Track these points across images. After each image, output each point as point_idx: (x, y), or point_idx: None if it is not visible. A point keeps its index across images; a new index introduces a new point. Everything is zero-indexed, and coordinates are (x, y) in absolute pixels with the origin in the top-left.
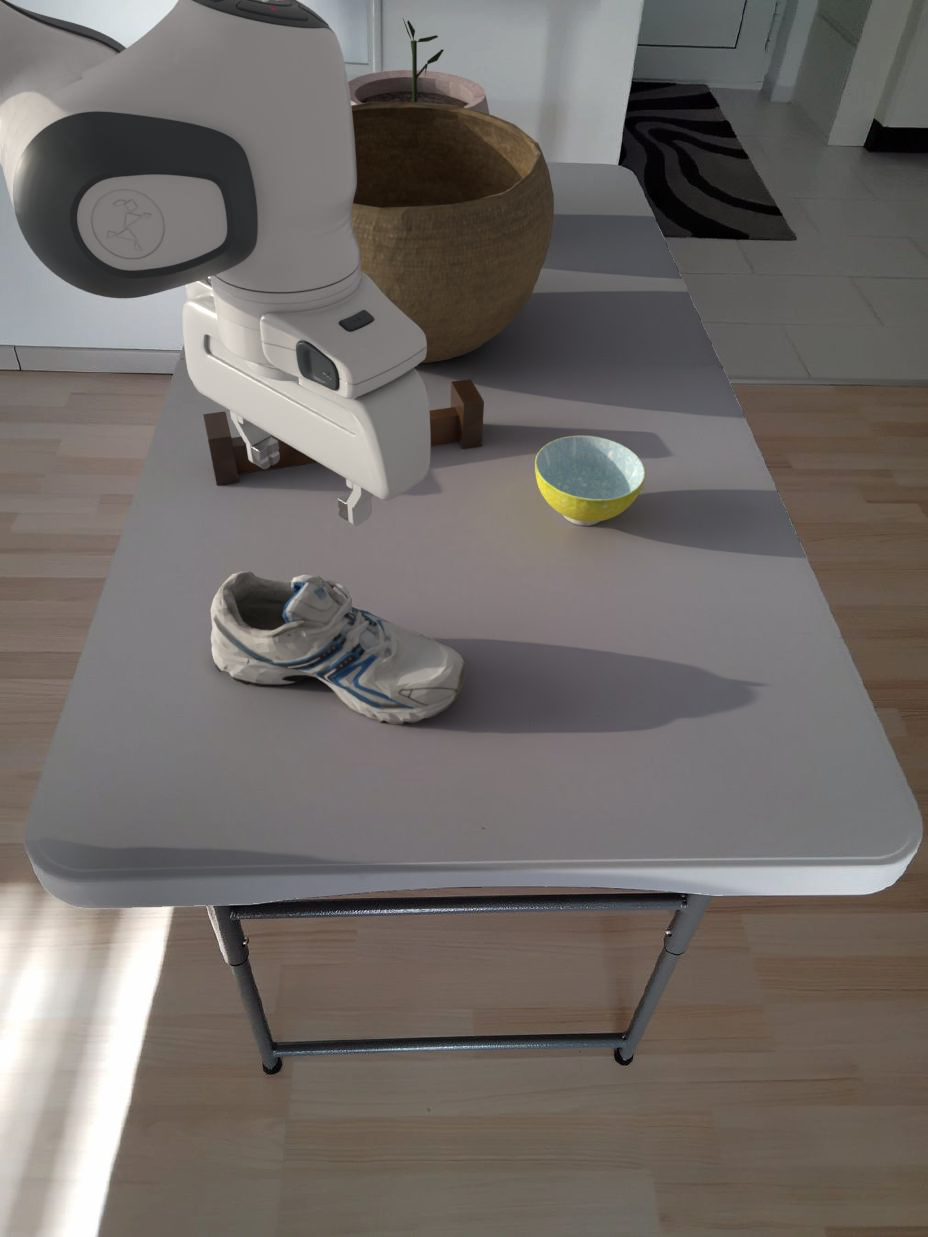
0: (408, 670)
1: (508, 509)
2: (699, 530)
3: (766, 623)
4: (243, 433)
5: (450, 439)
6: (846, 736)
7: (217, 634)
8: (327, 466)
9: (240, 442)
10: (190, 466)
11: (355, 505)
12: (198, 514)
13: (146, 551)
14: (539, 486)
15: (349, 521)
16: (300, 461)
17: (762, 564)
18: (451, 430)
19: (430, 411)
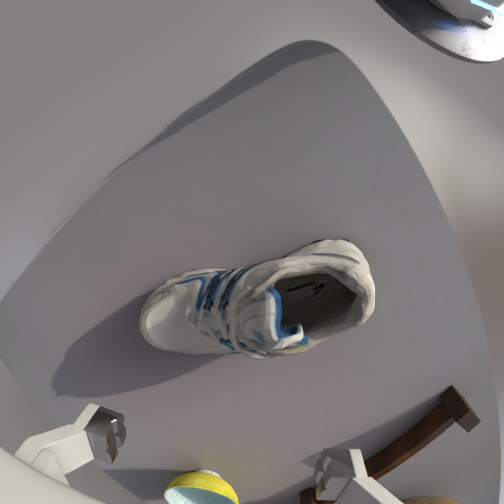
0: (173, 313)
1: (249, 466)
2: (146, 478)
3: None
4: (372, 492)
5: None
6: (21, 377)
7: (352, 255)
8: (53, 484)
9: (450, 421)
10: (473, 384)
11: (61, 427)
12: (451, 358)
13: (465, 307)
14: (223, 487)
15: (96, 406)
16: (408, 433)
17: (108, 464)
18: None
19: None
